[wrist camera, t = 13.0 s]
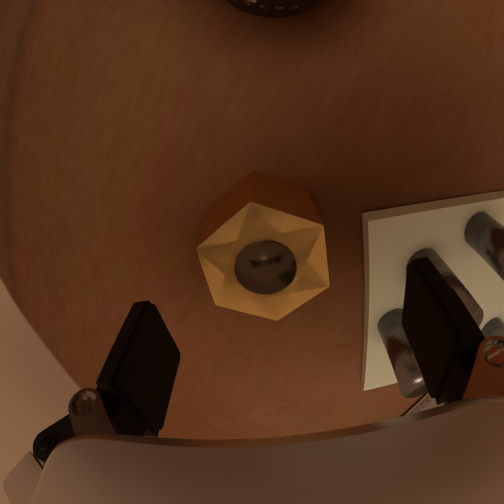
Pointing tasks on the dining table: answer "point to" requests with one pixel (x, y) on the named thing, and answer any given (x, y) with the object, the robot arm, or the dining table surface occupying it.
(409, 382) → the spacer posts
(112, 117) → the dining table surface
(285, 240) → the brass nut
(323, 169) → the dining table surface
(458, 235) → the board
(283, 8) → the coffee mug
